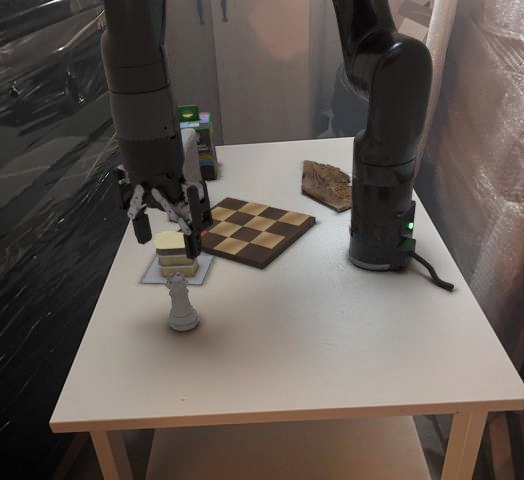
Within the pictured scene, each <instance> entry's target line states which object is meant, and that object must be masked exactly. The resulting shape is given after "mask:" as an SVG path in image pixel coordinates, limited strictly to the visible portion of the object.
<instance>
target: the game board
mask: <svg viewBox="0 0 524 480" xmlns="http://www.w3.org/2000/svg"><path fill="white" fill-rule="evenodd" d="M211 213H212V219H213V225H212V226H210V227H209V228H207V229H206V230H204V231H203V232H202V233H201V239H202V246H203V250H202V252H201V253H205V254H208V255H209V254H210V255H211V256H216V257H218V258H219V257H220V258H223V259H226V260H230V261H233V262H236V263H240V264H243V265H248V266H250V267H255V268H257V269H261V270H263V269H264V268H266V266H268V265H269V264H270V263H271V262H272V261H274V260H275V259H276V258H277V257H278V256H279V255H281V254H282V253H283V252H284V251H285V250H286V249H288V248H289V247H290V246H291V245H292V244H293V243H294V242H295V241H296V240H298V239H299V238H300V237H301V236H302V235H303V234H305V233H306V232H307V231H308V230H310V228H312V227H313V226H314V225H315V224H316V221H317V219H316V216H313V215H310V214H307V213H302V212H298V211H294V210H287V209H282V208H278V207H274V206H270V205H267V204H264V203H263V204H262V203H258V202H254V201H246V200H242V199H239V198H233V197H229V196H226V197H225V198H224V199H222V200H221V201H219V202H218V203H216V204H215V205H212V207H211ZM201 218H202V219H203V217H202V214H201ZM175 232H180V233H184V232H183V230H182V229H181V228H179V229H177V231H175Z"/></svg>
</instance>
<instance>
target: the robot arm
mask: <svg viewBox="0 0 524 480" xmlns="http://www.w3.org/2000/svg"><path fill="white" fill-rule="evenodd" d="M331 2H332V5H333V8H334V9H333V10H334V13H335V19H336V24H337V30H338V35H339V41H340V46H341V47H340V48H341V54H342V59H343V65H344V69H345V75H346V79H347V81H348V84H349V86H350V87H351V89H352V90H353V92H354V93H355V94H356V95H357V96H358V97H359V98H360V99H362V100H364V101H366V102H367V103H368V108H367V118H366V127H365V128H363V129H361V130H359V131H358V132H356V134H355V136H354V138H353V142H352V166H351V168H352V170H351V186H352V194H351V207H350V223H349V224H348V233H349V248H348V259H349V260H350V261H351V263H352V264H354V265H355V266H357V267H359V268H362V269H364V270H370V271H393V272H397V271H398V270H399V268H400V267H406V265H408V263H409V261H411V260H412V259H413V260H415V261H417V262H418V263H420V264H421V265H422V266H423V267H424V268H425V269H426V270H427V271H428V273H429V275H430V277H431V279H432V280H433V282H435V283H436V284H437V285H438V286H440V287H442V288H445V289H448V290H450V291H452V290H453V289H454V288H455V284H453V283H452V282H451V283H450V282H448V281H445V280H443V279H441V278H440V277H439V276H438V273H437V272H436V270H435V267H433V266H432V264H431V263H430V262H428V261H427V260H426V259H425V258H424V257H422V256H421V255H419V254H418V253H416V246H417V239H416V238H413V236H414V226H415V219H416V218H415V217H416V207H417V201H416V200H413V192H414V183H415V182H414V181H415V174H416V164H417V163H416V162H417V154H418V147H419V144H420V142H421V140H422V138H423V136H424V134H425V130H426V126H427V120H428V115H429V114H428V112H429V108H430V100H431V95H432V89H433V78H434V64H433V57H432V53H431V51H430V49H429V47H428V46H427V45H426V44H425V43H424V42H423V41H422V40H420V39H418V38H416V37H413V36H411V35H408V34H404V33H403V32H399V31H398V29H397V27H396V24H395V21H394V17H393V13H392V10H391V6H390V2H389V0H331ZM102 5H103V13H104V20H105V21H104V22H105V30H104V31H103V32H102V34H101V37H100V52H101V53H100V54H101V58H102V62H103V69H104V73H105V78H106V82H107V87H108V93H109V105H110V113H111V117H112V123H113V126H114V127H113V128H114V132H115V136H116V141H117V147H118V151H119V155H120V159H121V163H120V164H119V165H117V166H115V167H113V168H111V169H110V171H109V172H110V178H111V184H112V189H113V195H114V199H115V205H116V209H117V211H118V212H120V213H123V212H124V213H126V214H127V217H128V218H129V219H130V220H131V223H132V228H133V232H134V236H135V238H136V241H137V243H138V244H140V245H143V246H144V245H146V244H147V243H149V242H151V241H152V239H153V233H152V228H151V223H150V219H149V218H150V217H149V214H148V213H147V211H148V209H152V210H153V209H154V210H155V209H157V210H159V211H160V212H163V213H166V214H167V215H168V217H169V218H170V219H171V221H173V222H176V223H177V224H178V226H179V227H180V229H182V230H183V232H184V234H183V238H184V244H185V251H186V257H187V258H188V259H191V260H193V259H195V258H196V257H198V256H201V254H202V253H203V252H202V250H203V246H202V239H201V233H202V232H203V231H204V230H206V229H207V228H209V227H210V226H212V225H213V219H212V213H211V208H212V207H211V202H210V196H209V190H208V184H207V182H206V180H200V181H198V182H196V183H195V182H188V181H187V180H186V179H185V177H184V174H183V165H184V161H185V155H184V148H183V141H182V134H181V127H180V120H179V113H178V106H179V105H178V101H177V98H176V94H175V90H174V86H173V82H172V75H171V74H172V73H171V67H170V61H169V60H170V59H169V54H168V48H167V43H166V29H167V19H168V0H102ZM180 202H181V203H182V205H183V208H182V209H181V210H177V209H175V207H177V206H178V205H179V203H180ZM201 214H202V217H203V219H202V218H201ZM184 215H187V217H188V219H187V220H186V219H185V217H184ZM188 220H189V222H188Z"/></svg>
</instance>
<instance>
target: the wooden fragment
mask: <svg viewBox="0 0 524 480" xmlns="http://www.w3.org/2000/svg"><path fill="white" fill-rule="evenodd" d="M350 180H351V177H350V175H349V174H347V173H346V172H344V171H342V170H341V168H340V167H336V166H334V165H331V164H328V163H327V164H325V163H319V162H316V161H314V160H309V159H304V160H303V167H302V174H301V185H300V191H301V192H304V193H307V194H309V195H311V196H312V197H314V198H316V199H318V200H319V201H322V202H324V203H325V204H327V205H329V206H331V207H334V208H336V209H337V214H338V213H340V212H343V211H345V210H347V209H349V208H351V194H352V185H349V183H348V182H349V181H350Z"/></svg>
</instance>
